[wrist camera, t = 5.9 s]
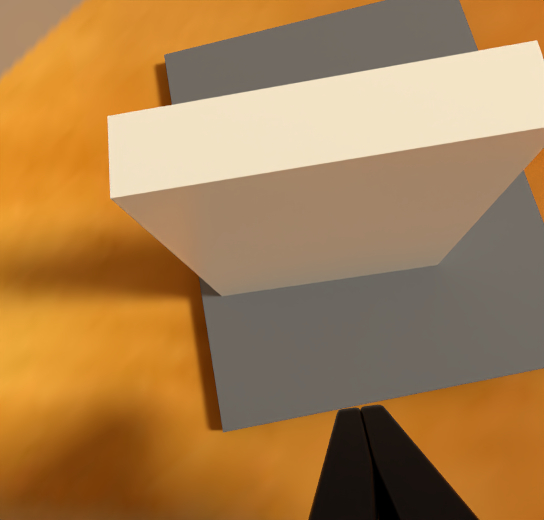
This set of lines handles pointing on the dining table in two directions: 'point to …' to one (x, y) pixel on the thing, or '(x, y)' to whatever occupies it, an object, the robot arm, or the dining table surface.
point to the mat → (377, 287)
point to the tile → (331, 168)
